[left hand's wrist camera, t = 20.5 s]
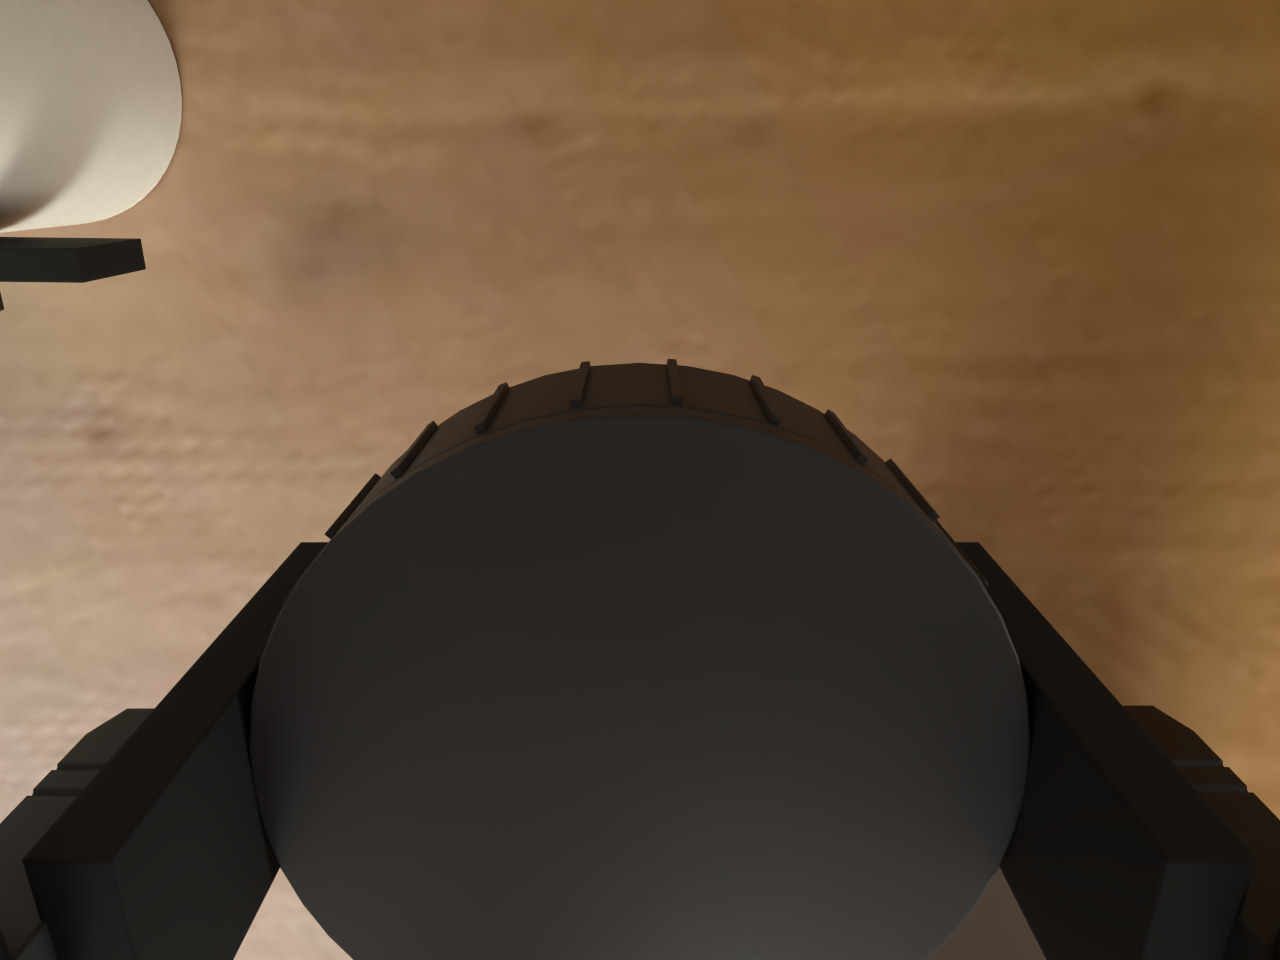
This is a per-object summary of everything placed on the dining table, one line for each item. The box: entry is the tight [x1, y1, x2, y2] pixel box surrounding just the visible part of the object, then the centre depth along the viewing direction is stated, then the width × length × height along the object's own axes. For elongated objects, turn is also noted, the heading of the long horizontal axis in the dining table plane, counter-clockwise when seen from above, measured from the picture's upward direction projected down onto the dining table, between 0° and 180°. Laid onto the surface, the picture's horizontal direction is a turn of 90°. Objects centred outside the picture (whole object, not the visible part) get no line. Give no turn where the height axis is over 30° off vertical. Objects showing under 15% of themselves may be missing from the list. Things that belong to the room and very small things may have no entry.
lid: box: [249, 359, 1031, 960], centre depth 11 cm, size 9×9×2 cm
